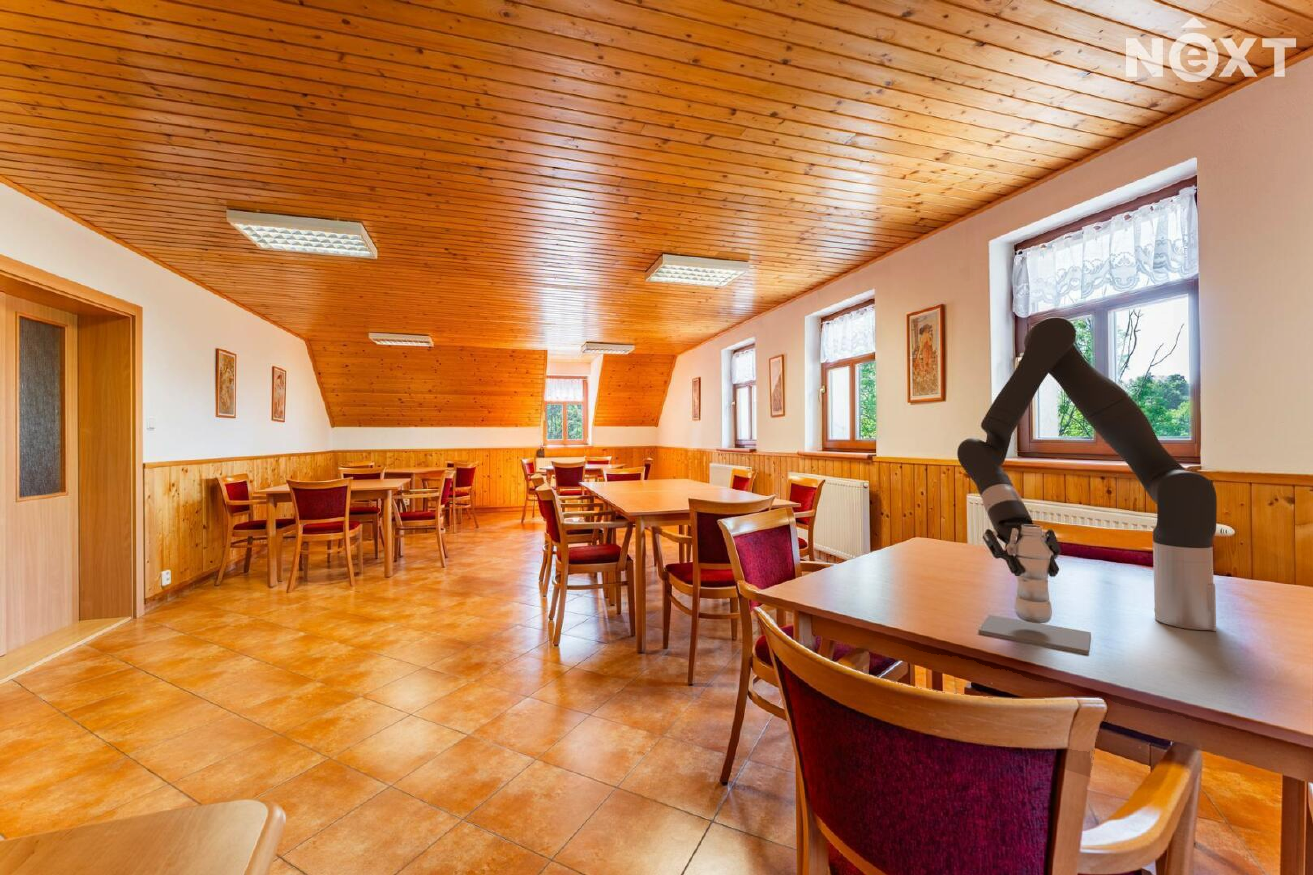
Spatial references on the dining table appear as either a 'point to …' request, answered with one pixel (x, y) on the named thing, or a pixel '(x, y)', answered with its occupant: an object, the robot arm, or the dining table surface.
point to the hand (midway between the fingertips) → (1036, 574)
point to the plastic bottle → (1033, 576)
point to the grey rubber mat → (1037, 634)
